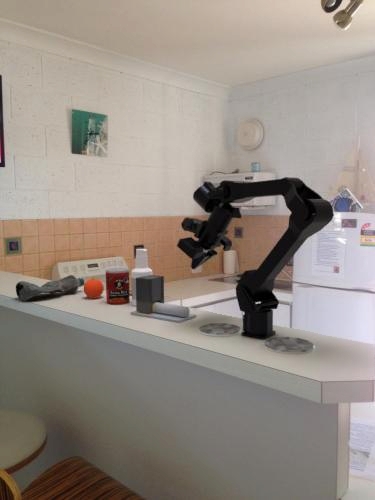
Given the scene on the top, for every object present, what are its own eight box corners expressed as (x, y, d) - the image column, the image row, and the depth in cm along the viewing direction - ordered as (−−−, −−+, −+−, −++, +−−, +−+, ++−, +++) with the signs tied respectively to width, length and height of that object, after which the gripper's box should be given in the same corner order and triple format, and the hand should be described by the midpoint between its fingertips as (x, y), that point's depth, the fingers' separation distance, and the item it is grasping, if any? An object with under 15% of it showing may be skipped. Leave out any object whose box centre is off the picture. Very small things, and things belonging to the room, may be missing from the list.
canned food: (107, 305, 149) (106, 271, 148) (105, 300, 156) (104, 268, 155) (131, 304, 151) (130, 270, 150) (127, 299, 158) (127, 267, 157)
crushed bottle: (24, 304, 152) (93, 292, 168) (22, 282, 152) (91, 273, 168) (11, 301, 162) (76, 290, 178) (9, 281, 162) (74, 272, 178)
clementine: (102, 294, 166) (101, 275, 166) (110, 298, 161) (109, 277, 160) (80, 297, 162) (80, 277, 161) (88, 300, 156) (87, 280, 156)
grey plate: (196, 317, 133) (196, 304, 132) (179, 322, 126) (179, 309, 126) (148, 309, 143) (148, 297, 143) (130, 314, 137) (130, 302, 136)
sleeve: (164, 309, 139) (163, 276, 138) (149, 313, 133) (148, 279, 132) (151, 307, 142) (150, 274, 141) (136, 311, 136) (135, 277, 135)
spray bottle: (141, 301, 155) (140, 247, 153) (157, 303, 151) (156, 248, 149) (127, 305, 149) (126, 249, 147) (143, 307, 145) (142, 250, 143)
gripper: (215, 204, 133) (192, 247, 140) (175, 207, 119) (152, 255, 126) (244, 226, 129) (218, 269, 136) (205, 233, 114) (179, 281, 121)
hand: (192, 268), depth 130 cm, fingers closed
